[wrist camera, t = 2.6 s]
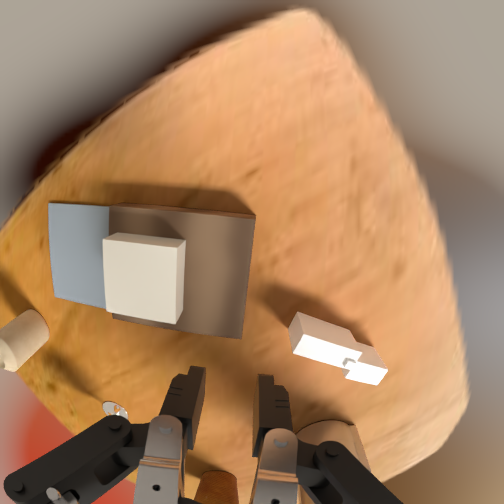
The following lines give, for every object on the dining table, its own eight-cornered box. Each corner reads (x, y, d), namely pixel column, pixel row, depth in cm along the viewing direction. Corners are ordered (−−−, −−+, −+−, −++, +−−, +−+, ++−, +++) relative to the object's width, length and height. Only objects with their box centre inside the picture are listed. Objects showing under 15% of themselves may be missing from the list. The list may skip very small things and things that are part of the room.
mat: (119, 207, 28) (118, 207, 28) (121, 310, 31) (120, 311, 31) (50, 202, 28) (48, 203, 27) (56, 295, 31) (54, 296, 30)
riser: (255, 215, 28) (255, 219, 25) (242, 324, 31) (241, 339, 28) (122, 202, 28) (109, 205, 25) (123, 306, 31) (112, 318, 28)
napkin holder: (261, 315, 31) (262, 342, 26) (353, 266, 30) (373, 285, 24) (314, 398, 35) (321, 428, 29) (390, 360, 33) (407, 386, 27)
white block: (185, 239, 26) (177, 247, 23) (183, 309, 27) (175, 324, 25) (117, 232, 26) (102, 239, 23) (119, 299, 27) (106, 311, 24)
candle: (21, 305, 32) (-21, 335, 22) (45, 312, 32) (2, 346, 22) (29, 337, 33) (-8, 370, 23) (53, 345, 33) (16, 382, 23)
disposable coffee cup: (194, 485, 41) (186, 533, 29) (191, 462, 39) (180, 517, 27) (243, 490, 41) (241, 539, 30) (247, 468, 39) (245, 525, 27)
